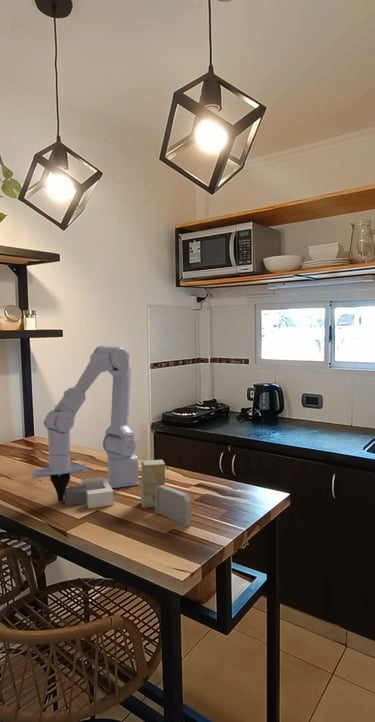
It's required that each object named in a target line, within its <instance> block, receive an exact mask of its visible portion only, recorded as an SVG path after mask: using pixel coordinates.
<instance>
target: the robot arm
mask: <svg viewBox="0 0 375 722" xmlns="http://www.w3.org/2000/svg"><path fill="white" fill-rule="evenodd" d="M129 361H130V353H129V352H128V351H127V350H126V349H125V347H122V346H104V345H98V346H97V347H96V348H95V349H94V350H93V352H92V354H90V356H89V362H88V364H87V366H86V367H85V369H84V371H83V372H82V374H81V376H80V378H79V379H78V380H77V382H76V384H75V386H73V387H69V388H68V389H66V390H65V391H64V392H63V396H62V397H61V399H60V401H59V402H58V403H57V404H56V405H54V409H52V410H50V411H49V412H48V413H47V414H46V416H45V419H44V420H43V426H44V427H45V428H46V431H47V435H48V466H47V467H44V468H38V469H32V472H31V473H32V479H33V480H36V479H38V478H39V479H40V478H46V477H47V478H49V477H50V478H49V479H50V482H51V483H52V485H53V487H54V489H55V492H56V495H57V501H58V502H63V501H64V493H65V490H66V488H67V487H68V484H69V482H70V480H71V475H73V474H81V473H82V474H86V473H87V465H86V464H71V447H70V446H71V442H70V441H71V439H70V437H71V436H70V432H71V429H72V428H73V427H74V426H75V425H74V423H75V418H76V414H77V413H78V411H79V410H80V408H81V407H82V405H83V404H84V403H85V401H86V399H87V398H86V392H87V391H88V390H89V389H90V387H91V386H92V385H93V383H94V382H95V381H96V380H97V378H98V376H100V374H101V373H105V372H108V373H109V374H110V375H111V376H112V394H111V410H110V411H111V412H110V413H111V414H110V415H111V416H110V425H109V427H107V428H106V430H105V434H104V438H103V440H102V448H103V451H105V453H106V456H107V478H106V480H107V482H108V483H109V485H110V486H111V488H112V489H114V488H115V489H116V488H124V487H130V486H138V485H140V482H139V477H140V476H139V458H138V455H137V454H134V453H135V450H136V447H137V444H136V441H135V433H134V431H133V430H132V428H130V426H129V418H130V417H129V415H130V414H129V413H130V399H131V398H130V397H131V396H130V395H131V394H130V393H131V379H132V378H131V376H132V375H131V373H132V371H131V366H130V362H129Z"/></svg>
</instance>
